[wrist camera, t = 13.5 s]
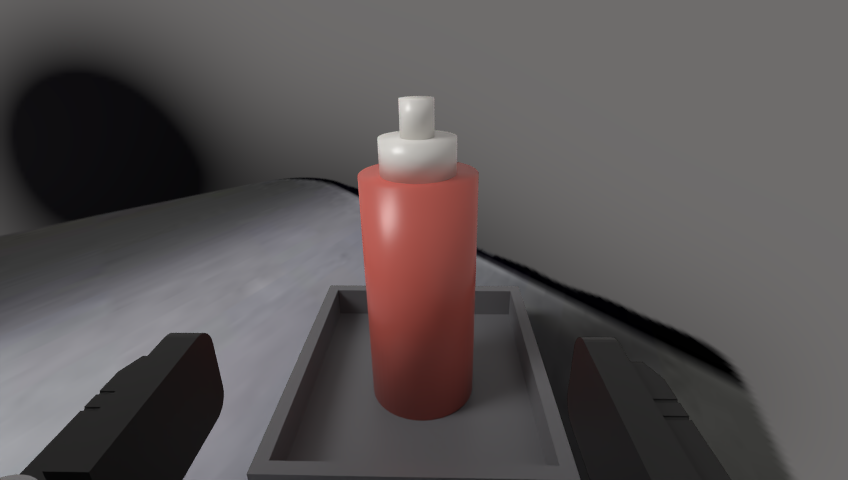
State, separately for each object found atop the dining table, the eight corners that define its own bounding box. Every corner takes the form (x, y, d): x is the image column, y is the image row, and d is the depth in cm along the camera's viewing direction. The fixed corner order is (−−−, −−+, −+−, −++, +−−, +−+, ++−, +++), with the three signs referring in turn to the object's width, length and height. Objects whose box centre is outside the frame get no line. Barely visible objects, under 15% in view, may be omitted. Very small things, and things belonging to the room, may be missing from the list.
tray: (257, 520, 18) (247, 473, 17) (334, 318, 31) (330, 285, 30) (572, 527, 17) (580, 480, 16) (515, 319, 30) (518, 286, 29)
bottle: (367, 420, 21) (340, 107, 16) (379, 353, 26) (361, 92, 20) (476, 420, 21) (487, 105, 16) (468, 352, 26) (475, 90, 20)
